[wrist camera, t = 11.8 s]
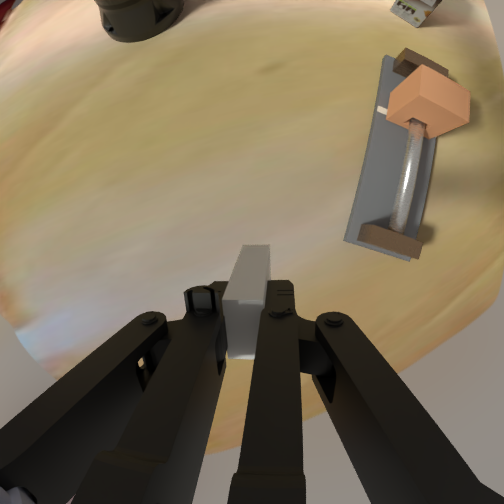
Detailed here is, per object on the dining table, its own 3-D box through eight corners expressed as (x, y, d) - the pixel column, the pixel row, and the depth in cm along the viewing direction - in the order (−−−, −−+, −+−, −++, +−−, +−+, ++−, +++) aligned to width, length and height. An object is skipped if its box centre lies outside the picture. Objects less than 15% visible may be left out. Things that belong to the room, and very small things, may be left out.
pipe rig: (403, 255, 43) (418, 259, 38) (356, 240, 42) (368, 243, 38) (434, 80, 39) (448, 69, 34) (393, 60, 39) (405, 47, 34)
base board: (405, 260, 44) (410, 261, 43) (343, 240, 44) (346, 241, 42) (437, 84, 41) (441, 81, 39) (382, 58, 41) (386, 54, 39)
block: (429, 139, 40) (469, 122, 29) (385, 119, 40) (419, 95, 29) (432, 112, 40) (470, 91, 29) (390, 92, 39) (422, 64, 29)
